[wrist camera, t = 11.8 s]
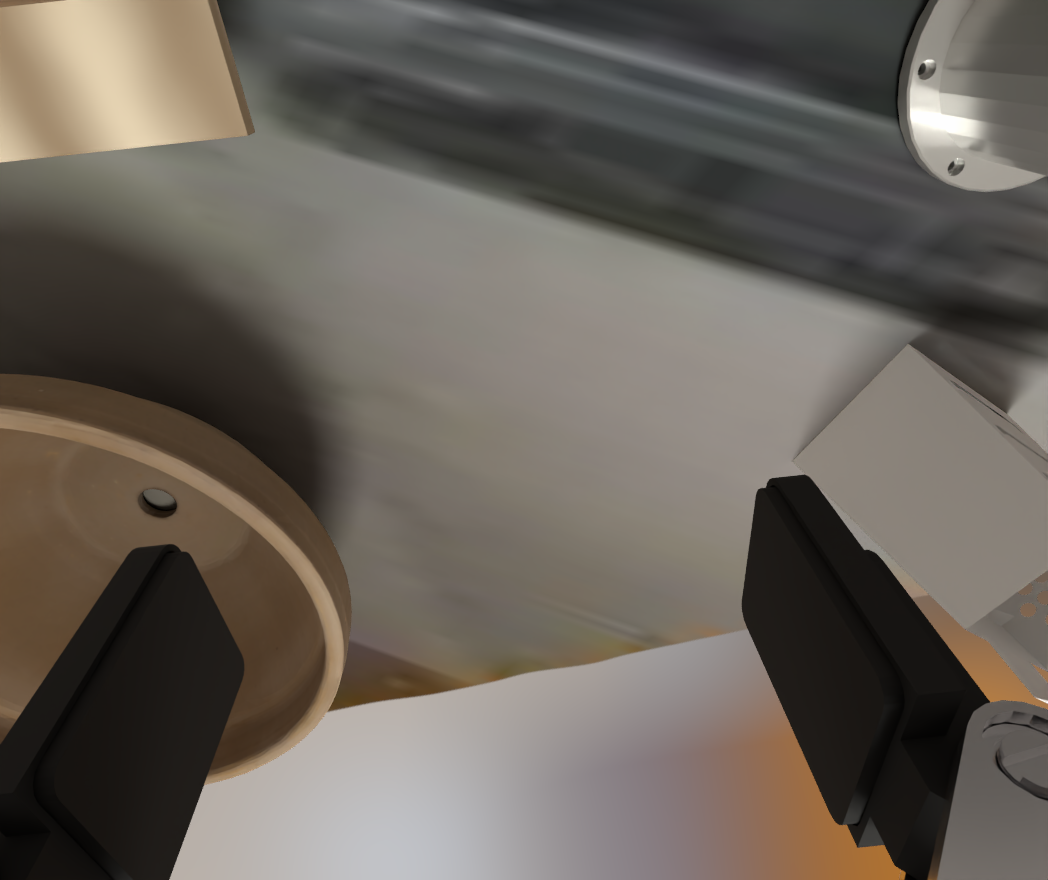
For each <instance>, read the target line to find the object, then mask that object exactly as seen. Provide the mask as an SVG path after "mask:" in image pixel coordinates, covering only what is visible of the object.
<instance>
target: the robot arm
mask: <svg viewBox="0 0 1048 880" xmlns="http://www.w3.org/2000/svg"><path fill="white" fill-rule="evenodd" d="M920 65H921V69H920V71H919V72H918V70H919V67H920ZM898 112H899V121H900V128H901V131H902V134H903V137H904V140H905V143H906V146H907V148H908V150H909V151H910V153H911V154H912V156H913V157H914V159H915V161H916V162H917V164H919V165H920V166H921V167H922V168H923V169H924V170H925V171H926V172H927V173H928V174H930V175H931V176H932V177H934V178H936V179H938V180H940V181H942V182H944V183H946V184H948V185H952V186H955V187H958V188H962V189H965V190H971V191H981V192H992V191H1001V190H1009V189H1012V188H1016V187H1019V186H1023V185H1026V184H1029V183H1032V182H1034V181H1037V180H1039V179H1041V178H1043V177H1045V176H1048V0H929V1H928V3H927V5H926V7H925V9H924V10H923V12H922V14H921V16H920V17H919V19H918V21H917V24H916V26H915V29H914V31H913V34H912V36H911V39H910V41H909V44H908V46H907V49H906V52H905V57H904V61H903V65H902V69H901V73H900V77H899V91H898ZM742 612H743V617H744V621H745V623H746V626H747V628H748V630H749V633H750V635H751V637H752V639H753V642H754V644H755V646H756V648H757V651H758V653H759V655H760V657H761V660H762V662H763V664H764V666H765V668H766V671H767V673H768V675H769V678H770V680H771V682H772V684H773V687H774V689H775V691H776V693H777V696H778V698H779V700H780V702H781V704H782V707H783V709H784V711H785V714H786V716H787V718H788V720H789V722H790V725H791V727H792V729H793V731H794V734H795V736H796V738H797V740H798V743H799V745H800V747H801V749H802V751H803V754H804V756H805V758H806V760H807V763H808V765H809V767H810V770H811V772H812V774H813V776H814V779H815V781H816V783H817V785H818V787H819V790H820V792H821V794H822V797H823V799H824V801H825V803H826V806H827V808H828V810H829V812H830V814H831V816H832V818H833V819H834V821H835V822H836V823H837V824H839V825H846V824H847V826H848V828H849V830H850V832H851V834H852V837H853V839H854V841H855V843H856V845H857V847H858V848H859V847H868V846H877V845H885V847H886V849H887V851H888V853H889V855H890V857H891V859H892V861H893V863H894V865H895V866H896V867H898V868H900V869H901V873H900V878H899V880H1048V710H1047V709H1045V708H1041V707H1038V706H1035V705H1031V704H1028V703H1025V702H1017V701H1006V700H1001V701H997V702H991V703H990V701H989V700H988V699H987V698H986V696H985V695H984V693H983V692H982V691H981V690H980V688H979V687H978V685H977V684H976V683H975V682H974V680H973V679H972V678H971V676H970V675H969V674H968V672H967V671H966V670H965V668H964V667H963V666H962V664H961V663H960V662H959V661H958V659H957V658H956V656H955V655H954V654H953V652H952V651H951V650H950V649H949V647H948V646H947V645H946V643H945V642H944V641H943V639H942V638H941V637H940V635H939V634H938V633H937V632H936V630H935V629H934V627H933V626H932V625H931V623H930V622H929V621H928V619H927V618H926V617H925V616H924V614H923V613H922V612H921V610H920V609H919V608H918V606H917V605H916V604H915V602H914V601H913V600H912V598H911V597H910V596H909V594H908V593H907V592H906V590H905V589H904V588H903V586H902V585H901V584H900V582H899V581H898V580H897V579H896V577H895V576H894V575H893V573H892V572H891V571H890V569H889V568H888V567H887V565H886V564H885V563H884V561H883V560H882V559H881V558H880V557H879V556H878V555H877V554H876V553H874V552H872V551H870V550H864V549H863V548H862V547H861V545H860V544H859V542H858V541H857V540H856V538H855V537H854V536H853V534H852V533H851V532H850V530H849V529H848V528H847V526H846V525H845V523H844V522H843V521H842V519H841V518H840V517H839V515H838V514H837V513H836V511H835V510H834V509H833V507H832V506H831V504H830V503H829V502H828V500H827V499H826V498H825V496H824V495H823V494H822V492H821V491H820V490H819V488H818V487H817V485H816V484H815V483H814V481H813V480H812V479H811V478H810V477H809V476H807V475H798V476H788V477H779V478H772V479H769V481H768V483H767V486H766V488H760V489H758V491H757V494H756V500H755V507H754V514H753V522H752V529H751V537H750V544H749V552H748V559H747V567H746V574H745V582H744V589H743V596H742ZM243 676H244V659H243V656H242V654H241V652H240V650H239V648H238V646H237V644H236V642H235V640H234V638H233V636H232V634H231V632H230V630H229V628H228V626H227V624H226V623H225V621H224V619H223V617H222V615H221V613H220V611H219V609H218V607H217V605H216V603H215V601H214V599H213V597H212V595H211V593H210V591H209V589H208V587H207V585H206V584H205V582H204V580H203V578H202V576H201V574H200V572H199V570H198V568H197V566H196V564H195V562H194V560H193V558H192V557H191V555H190V554H189V553H188V552H184V551H183V552H182V551H181V550H180V549H179V547H177V546H176V545H174V544H165V545H156V546H147V547H138V548H135V549H133V550H132V551H131V552H130V553H129V554H128V555H127V557H126V558H125V560H124V561H123V563H122V564H121V566H120V567H119V569H118V570H117V572H116V573H115V575H114V576H113V578H112V579H111V581H110V582H109V584H108V585H107V586H106V588H105V589H104V591H103V592H102V594H101V595H100V597H99V598H98V600H97V601H96V603H95V604H94V606H93V607H92V609H91V610H90V612H89V613H88V615H87V616H86V618H85V619H84V621H83V622H82V624H81V625H80V627H79V628H78V630H77V631H76V633H75V634H74V636H73V637H72V639H71V640H70V641H69V643H68V644H67V646H66V647H65V649H64V650H63V652H62V653H61V655H60V656H59V658H58V659H57V661H56V662H55V664H54V665H53V667H52V668H51V670H50V671H49V673H48V674H47V676H46V677H45V679H44V680H43V682H42V683H41V685H40V686H39V688H38V689H37V691H36V692H35V694H34V695H33V696H32V698H31V699H30V701H29V702H28V704H27V705H26V707H25V708H24V710H23V711H22V713H21V714H20V716H19V717H18V719H17V720H16V722H15V723H14V725H13V726H12V728H11V729H10V731H9V732H8V734H7V735H6V737H5V738H4V740H3V741H2V743H1V744H0V880H169V879H170V876H171V873H172V871H173V868H174V865H175V862H176V860H177V857H178V854H179V851H180V849H181V846H182V843H183V841H184V838H185V835H186V832H187V830H188V827H189V824H190V822H191V819H192V816H193V813H194V811H195V808H196V805H197V802H198V800H199V797H200V794H201V791H202V789H203V786H204V783H205V781H206V778H207V775H208V773H209V770H210V767H211V764H212V762H213V759H214V756H215V753H216V751H217V748H218V745H219V743H220V740H221V737H222V734H223V732H224V729H225V726H226V723H227V721H228V718H229V715H230V713H231V710H232V707H233V704H234V702H235V699H236V696H237V693H238V691H239V688H240V685H241V683H242V680H243Z"/></svg>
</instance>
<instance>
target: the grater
mask: <svg viewBox="0 0 1048 880" xmlns="http://www.w3.org/2000/svg"><path fill="white" fill-rule="evenodd" d="M950 380H951V381H953V382H955V383H956V384H958V385H959V386H961V387H962V388H963V389H965V390H966V391H968V392H969V393H971V394H972V395H973V396H975V397H976V398H978V399H979V400H980V401H982V402H983V403H985V404H986V405H988V406H989V407H990V408H992V409H993V410H995V411H996V412H997V413H999V414H1000V415H1002V416H1003V418H1002V417H1001V416H999V415H998V414H996V413H995V412H994V411H992V410H991V409H989V408H988V407H986V406H985V405H984V404H982V403H981V402H979V401H978V400H976V399H975V398H974V397H972V396H971V395H969V394H968V393H966V392H965V391H964V390H962V389H959V388H957V387H956V386H955V385H954V384H953V383H952V382H951V381H950ZM994 424H995V425H994ZM792 462H793V463H794V464H795V465H796V466H797V467H798V468H799V469H801V470H802V471H803V472H804V473H805V474H806V475H807V476H809V477H810V478H811V479H812V480H813V481H814V483H815V484H816V485H817V486H818V487H819V488H820V489H821V490H822V491H823V492H824V493H825V494H826V495H827V496H828V497H829V498H830V499H831V500H832V501H833V502H834V503H836V504H837V505H838V506H839V507H840V508H841V509H842V510H843V511H844V512H845V513H846V514H847V515H848V516H849V517H850V518H851V519H852V520H853V521H854V522H855V523H856V524H857V525H858V526H859V527H860V528H861V529H862V530H863V531H864V532H865V533H866V534H867V535H868V536H870V537H871V538H872V539H873V540H874V541H875V542H876V543H877V544H878V545H879V546H880V547H881V548H882V549H883V550H884V551H885V552H886V553H887V554H888V555H889V556H890V557H891V558H892V559H893V560H894V561H895V562H896V563H897V564H898V565H899V566H900V567H901V568H902V569H903V570H905V571H906V572H907V573H908V574H909V575H910V576H911V577H912V578H913V579H914V580H915V581H916V582H917V583H918V584H919V585H920V586H921V587H922V588H923V589H924V590H925V591H926V592H927V593H928V594H929V595H930V596H931V597H932V598H933V599H935V601H936V602H938V603H939V604H940V605H941V606H942V607H943V608H944V609H945V610H946V611H947V612H948V613H949V614H950V615H951V616H952V617H953V618H954V619H955V620H956V621H957V622H958V623H959V624H960V625H961V626H962V627H963V628H964V629H965V630H967V631H969V632H971V633H973V634H975V635H977V636H979V637H981V638H983V639H985V640H987V641H988V642H989V643H990V644H991V645H992V647H993V648H994V649H995V650H996V652H997V653H998V654H999V655H1000V656H1001V658H1002V659H1003V660H1004V661H1005V662H1006V664H1007V665H1008V666H1009V667H1010V668H1011V669H1012V671H1013V672H1014V673H1015V674H1016V676H1017V677H1018V678H1019V679H1020V680H1021V682H1022V683H1023V684H1024V685H1025V686H1026V688H1027V689H1028V690H1029V691H1030V692H1031V694H1032V695H1033V696H1034V697H1035V698H1037V699H1039V700H1041V701H1043V702H1045V703H1048V683H1047V681H1046V680H1045V679H1044V678H1043V677H1042V676H1041V675H1040V674H1039V672H1038V671H1037V670H1036V669H1035V668H1034V666H1033V665H1032V664H1034V665H1036V666H1038V667H1039V668H1041V669H1043V670H1045V671H1047V672H1048V625H1047V623H1046V621H1045V619H1046V616H1047V615H1048V605H1042V604H1040V603H1039V602H1038V600H1037V596H1038V594H1039V593H1040V592H1042V591H1044V590H1046V591H1048V581H1046V582H1044V583H1038V582H1036V581H1035V579H1036V578H1037V577H1039V576H1040V575H1041V574H1043V573H1044V572H1046V571H1047V570H1048V454H1047V453H1046V452H1045V451H1044V450H1043V449H1042V448H1041V447H1040V446H1039V445H1038V444H1037V443H1036V442H1035V441H1034V440H1033V439H1032V438H1031V437H1030V436H1029V435H1028V434H1027V433H1026V432H1025V431H1024V430H1023V429H1022V428H1021V427H1020V426H1019V425H1018V424H1017V423H1016V422H1015V421H1014V420H1012V419H1011V418H1010V417H1009V416H1008V415H1007V414H1006V413H1005V412H1003V411H1002V410H1001V409H999V408H998V407H996V406H995V405H994V404H992V403H991V402H989V401H988V400H986V399H985V398H984V397H982V396H981V395H979V394H978V393H977V392H975V391H974V390H972V389H971V388H970V387H968V386H967V385H965V384H964V383H963V382H961V381H960V380H958V379H957V378H956V377H954V376H953V375H951V374H950V373H949V372H947V371H946V370H944V369H943V368H942V367H940V366H939V365H937V364H936V363H934V362H933V361H932V360H930V359H929V358H927V357H926V356H925V355H923V354H922V353H920V352H919V351H918V350H916V349H915V348H913V347H912V346H911V345H909V344H907V345H906V346H905V347H904V348H903V349H902V350H901V352H900V353H899V354H898V355H897V356H896V357H895V358H894V359H893V360H892V361H891V362H890V363H889V364H888V365H887V366H886V367H885V368H884V369H883V370H882V371H881V372H880V373H879V374H878V375H877V376H876V377H875V378H874V379H873V380H872V381H871V382H870V383H869V384H868V385H867V386H866V387H865V388H864V389H863V390H862V391H861V392H860V393H859V394H858V395H857V396H856V397H855V398H854V399H853V400H852V401H851V402H850V403H849V404H848V405H847V406H846V407H845V408H844V409H843V410H842V411H841V412H840V413H839V414H838V415H837V416H836V417H835V418H834V419H833V420H832V421H831V422H830V423H829V424H828V425H827V426H826V427H825V428H824V429H823V431H822V432H821V433H820V434H819V435H818V436H817V437H816V438H815V439H814V440H813V441H812V442H811V443H810V444H809V445H808V446H807V447H806V448H805V449H804V450H803V451H802V452H801V453H800V454H799V455H798V456H797V457H796V458H795V459H794V460H793V461H792ZM1029 583H1031V584H1032V586H1033V590H1032V592H1031V593H1030V594H1027V595H1021V594H1019V593H1018V591H1019V590H1021V589H1022V588H1024V587H1025V586H1026V585H1028V584H1029ZM1025 603H1032V604H1034V605H1035V606H1036V608H1037V609H1036V613H1035V614H1034V615H1033V616H1031V617H1024V616H1023V615H1021V612H1020V607H1021V606H1022V605H1023V604H1025ZM1031 663H1032V664H1031Z"/></svg>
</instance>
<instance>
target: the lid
mask: <svg viewBox="0 0 1048 880" xmlns="http://www.w3.org/2000/svg"><path fill="white" fill-rule="evenodd" d="M252 133H255V130H254V126H253V123H252V120H251V116H250V113H249V109H248V106H247V103H246V99H245V96H244V92H243V89H242V85H241V82H240V79H239V75H238V72H237V68H236V65H235V61H234V58H233V55H232V51H231V48H230V44H229V41H228V37H227V34H226V31H225V27H224V24H223V20H222V17H221V13H220V10H219V7H218V3H217V0H0V162H8V161H17V160H27V159H36V158H45V157H54V156H64V155H73V154H82V153H91V152H101V151H110V150H119V149H128V148H138V147H147V146H156V145H165V144H174V143H184V142H193V141H202V140H211V139H221V138H230V137H239V136H248V135H250V134H252Z"/></svg>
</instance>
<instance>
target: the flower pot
mask: <svg viewBox="0 0 1048 880" xmlns="http://www.w3.org/2000/svg"><path fill="white" fill-rule="evenodd" d="M148 489H158V490H162V491H164V492H166V493H168V494H170V495H171V496H172V497H173V498H174V499H175V501H176V503H177V508H176V509H174V510H171V511H160V510H157V509H154V508H152V507H151V506H149V505H148V504H147V503H146V502H145V500H144V498H143V491H144V490H148ZM165 544H174V545H176V546H177V547H179V549H180V550H181V551H182V552H183V551H184V552H188V553H189V554H190V555H191V557H192V558H193V560H194V562H195V564H196V566H197V568H198V570H199V572H200V574H201V576H202V578H203V580H204V582H205V584H206V585H207V587H208V589H209V591H210V593H211V595H212V597H213V599H214V601H215V603H216V605H217V607H218V609H219V611H220V613H221V615H222V617H223V619H224V621H225V623H226V624H227V626H228V628H229V630H230V632H231V634H232V636H233V638H234V640H235V642H236V644H237V646H238V648H239V650H240V652H241V654H242V656H243V659H244V676H243V680H242V683H241V685H240V688H239V691H238V693H237V696H236V699H235V702H234V704H233V707H232V710H231V713H230V715H229V718H228V721H227V723H226V726H225V729H224V732H223V734H222V737H221V740H220V743H219V745H218V748H217V751H216V753H215V756H214V759H213V762H212V764H211V767H210V770H209V773H208V775H207V778H206V781H205V783H204V785H206V784H210V783H214V782H218V781H222V780H226V779H229V778H233V777H235V776H239V775H241V774H245V773H247V772H249V771H251V770H254V769H256V768H258V767H260V766H262V765H264V764H266V763H268V762H270V761H272V760H274V759H276V758H277V757H279V756H280V755H282V754H284V753H285V752H287V751H288V750H290V749H291V748H293V747H294V746H295V745H297V744H298V743H299V742H300V741H301V740H302V739H304V738H305V737H306V736H307V735H308V734H309V733H310V732H311V731H312V730H313V729H314V728H315V727H316V726H317V724H318V723H319V722H320V720H321V719H322V718H323V717H324V715H325V714H326V712H327V711H328V709H329V707H330V706H331V704H332V702H333V700H334V697H335V695H336V693H337V690H338V687H339V684H340V679H341V676H342V672H343V669H344V666H345V662H346V657H347V651H348V643H349V636H350V628H351V613H352V610H351V596H350V590H349V585H348V580H347V576H346V573H345V570H344V567H343V564H342V562H341V560H340V557H339V555H338V553H337V550H336V548H335V546H334V544H333V542H332V540H331V539H330V537H329V535H328V533H327V532H326V530H325V529H324V527H323V526H322V524H321V523H320V521H319V520H318V519H317V517H316V516H315V515H314V513H313V512H312V511H311V509H310V508H309V507H308V506H307V505H306V503H305V502H304V501H303V500H302V499H301V498H300V497H299V496H298V494H297V493H296V492H295V491H294V490H293V489H292V488H291V487H290V486H289V485H288V484H287V483H286V482H285V481H284V480H282V479H281V478H280V477H279V476H278V475H277V474H276V473H274V472H273V471H272V470H271V469H270V468H268V467H267V466H266V465H265V464H264V463H263V462H262V461H261V460H260V459H259V458H257V457H256V456H255V455H254V454H252V453H251V452H250V451H249V450H248V449H246V448H245V447H244V446H242V445H241V444H240V443H238V442H237V441H236V440H234V439H233V438H231V437H230V436H228V435H226V434H225V433H223V432H222V431H220V430H218V429H217V428H215V427H213V426H211V425H209V424H207V423H205V422H203V421H202V420H200V419H198V418H195V417H193V416H191V415H189V414H186V413H184V412H182V411H179V410H177V409H174V408H171V407H168V406H166V405H163V404H159V403H156V402H153V401H149V400H146V399H142V398H137V397H134V396H131V395H128V394H125V393H122V392H118V391H115V390H111V389H108V388H104V387H100V386H96V385H91V384H86V383H81V382H77V381H72V380H65V379H58V378H51V377H44V376H34V375H23V374H0V744H1V743H2V741H3V740H4V738H5V737H6V735H7V734H8V732H9V731H10V729H11V728H12V726H13V725H14V723H15V722H16V720H17V719H18V717H19V716H20V714H21V713H22V711H23V710H24V708H25V707H26V705H27V704H28V702H29V701H30V699H31V698H32V696H33V695H34V694H35V692H36V691H37V689H38V688H39V686H40V685H41V683H42V682H43V680H44V679H45V677H46V676H47V674H48V673H49V671H50V670H51V668H52V667H53V665H54V664H55V662H56V661H57V659H58V658H59V656H60V655H61V653H62V652H63V650H64V649H65V647H66V646H67V644H68V643H69V641H70V640H71V639H72V637H73V636H74V634H75V633H76V631H77V630H78V628H79V627H80V625H81V624H82V622H83V621H84V619H85V618H86V616H87V615H88V613H89V612H90V610H91V609H92V607H93V606H94V604H95V603H96V601H97V600H98V598H99V597H100V595H101V594H102V592H103V591H104V589H105V588H106V586H107V585H108V584H109V582H110V581H111V579H112V578H113V576H114V575H115V573H116V572H117V570H118V569H119V567H120V566H121V564H122V563H123V561H124V560H125V558H126V557H127V555H128V554H129V553H130V552H131V551H132V550H133V549H135V548H138V547H147V546H156V545H165Z"/></svg>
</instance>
